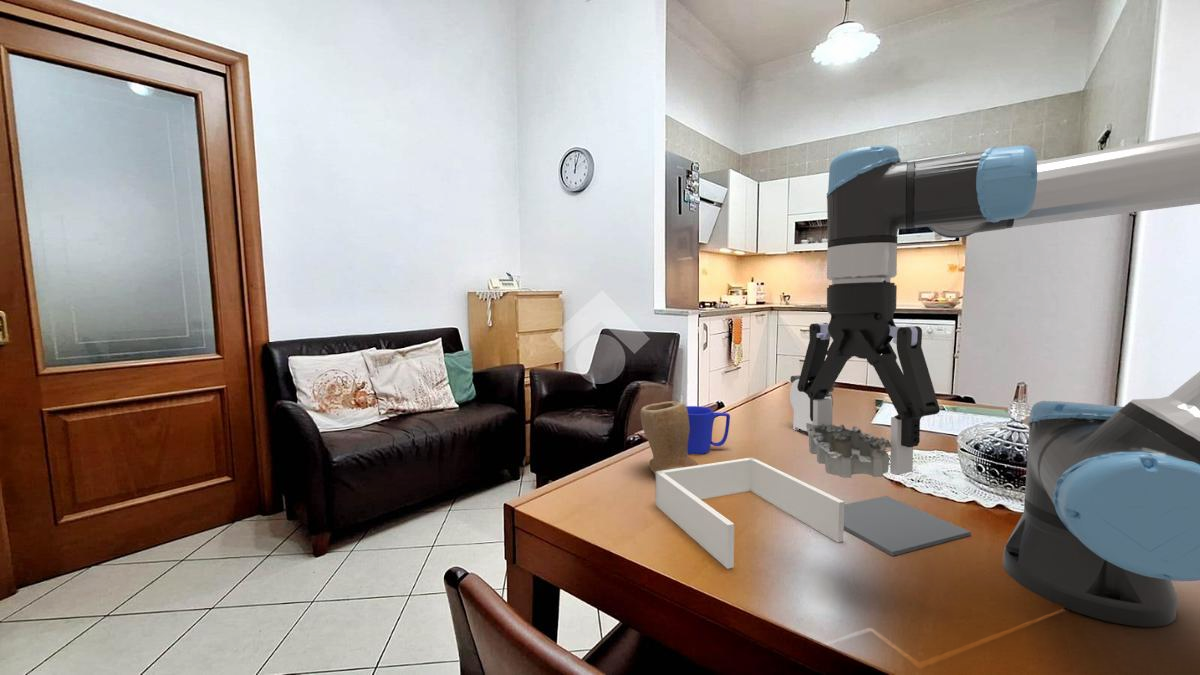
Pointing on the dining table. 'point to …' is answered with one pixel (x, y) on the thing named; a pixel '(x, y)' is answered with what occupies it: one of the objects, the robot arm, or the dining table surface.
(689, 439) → the mug
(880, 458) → the grey castle ring
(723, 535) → the white open frame
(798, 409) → the panda figurine
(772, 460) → the dining table surface
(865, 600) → the dining table surface
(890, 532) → the mat
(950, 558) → the dining table surface
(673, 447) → the stone cup
